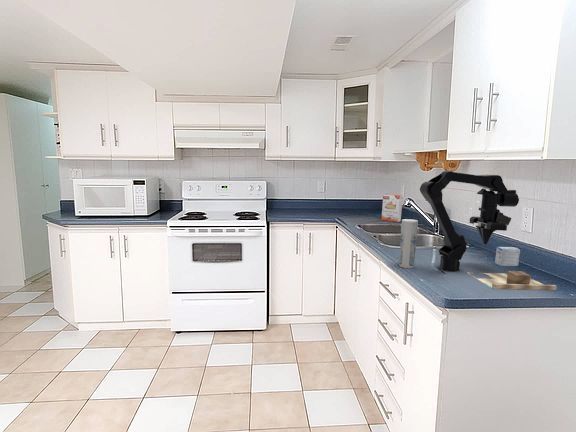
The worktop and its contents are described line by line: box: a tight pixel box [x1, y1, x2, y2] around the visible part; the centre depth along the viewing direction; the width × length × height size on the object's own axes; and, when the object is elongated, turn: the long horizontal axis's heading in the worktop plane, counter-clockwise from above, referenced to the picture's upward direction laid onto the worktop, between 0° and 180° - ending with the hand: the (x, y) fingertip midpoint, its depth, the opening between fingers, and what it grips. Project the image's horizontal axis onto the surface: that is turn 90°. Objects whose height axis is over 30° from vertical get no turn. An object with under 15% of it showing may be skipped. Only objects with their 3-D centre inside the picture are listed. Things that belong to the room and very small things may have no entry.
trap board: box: [467, 272, 558, 291], centre depth 136 cm, size 22×19×3 cm
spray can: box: [398, 218, 419, 269], centre depth 156 cm, size 6×6×20 cm
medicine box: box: [494, 246, 521, 267], centre depth 160 cm, size 8×4×9 cm, turn 92°
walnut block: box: [506, 270, 531, 284], centre depth 131 cm, size 5×5×4 cm
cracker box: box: [381, 193, 404, 223], centre depth 290 cm, size 14×6×21 cm, turn 50°
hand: (484, 244), depth 149 cm, fingers closed
